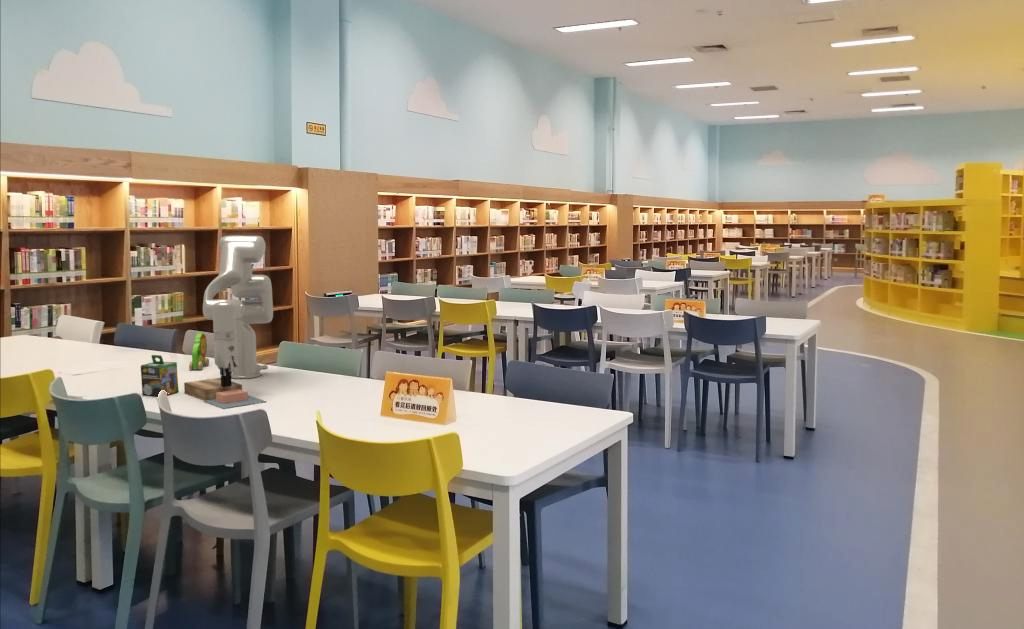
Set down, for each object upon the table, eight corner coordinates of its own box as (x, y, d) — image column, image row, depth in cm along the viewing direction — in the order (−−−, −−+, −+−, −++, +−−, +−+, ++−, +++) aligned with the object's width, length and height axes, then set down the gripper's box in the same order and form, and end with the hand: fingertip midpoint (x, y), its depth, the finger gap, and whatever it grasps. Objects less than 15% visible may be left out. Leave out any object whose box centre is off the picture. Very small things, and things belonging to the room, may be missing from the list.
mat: (245, 395, 295) (245, 394, 295) (266, 402, 284) (266, 401, 284) (203, 401, 284) (203, 400, 284) (223, 409, 273) (223, 408, 273)
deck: (220, 387, 308) (220, 377, 307) (242, 395, 295) (242, 384, 295) (184, 393, 298) (184, 382, 297) (205, 400, 285) (205, 389, 285)
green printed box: (179, 392, 299) (177, 353, 298) (161, 397, 291) (159, 357, 289) (159, 390, 302) (157, 352, 301) (141, 395, 294) (139, 355, 292)
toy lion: (201, 370, 343) (200, 336, 341) (188, 371, 342) (187, 336, 341) (211, 364, 359) (210, 331, 357) (198, 364, 358) (197, 331, 356)
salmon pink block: (247, 391, 285) (247, 400, 286) (239, 389, 290) (240, 397, 290) (223, 395, 279) (223, 403, 280) (215, 392, 283) (216, 401, 284)
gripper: (244, 337, 284) (245, 387, 286) (225, 333, 294) (226, 381, 296) (224, 339, 278) (225, 390, 280) (205, 335, 289) (207, 384, 291)
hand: (226, 386), depth 288 cm, fingers closed
